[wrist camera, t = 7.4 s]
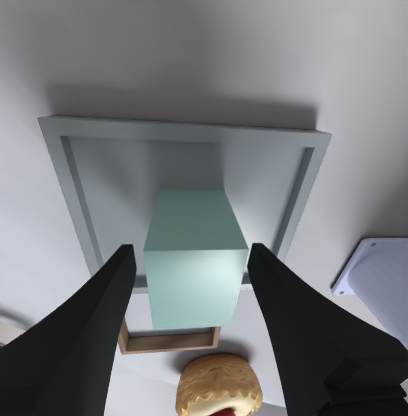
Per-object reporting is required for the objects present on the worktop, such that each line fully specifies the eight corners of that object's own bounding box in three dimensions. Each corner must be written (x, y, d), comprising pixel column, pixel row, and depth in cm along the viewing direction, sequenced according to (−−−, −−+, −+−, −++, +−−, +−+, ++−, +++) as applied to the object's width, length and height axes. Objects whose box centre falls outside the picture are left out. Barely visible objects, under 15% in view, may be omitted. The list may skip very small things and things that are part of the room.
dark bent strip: (222, 292, 21) (225, 305, 19) (215, 334, 25) (216, 348, 24) (112, 296, 19) (107, 310, 18) (125, 340, 24) (121, 354, 22)
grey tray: (316, 129, 13) (332, 134, 11) (267, 275, 20) (273, 288, 18) (55, 114, 11) (37, 117, 10) (104, 279, 18) (97, 295, 17)
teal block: (224, 190, 14) (249, 249, 8) (216, 253, 17) (231, 325, 11) (158, 189, 13) (142, 251, 8) (163, 254, 16) (153, 330, 11)
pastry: (263, 345, 29) (294, 434, 21) (237, 380, 34) (255, 462, 27) (184, 346, 26) (188, 449, 19) (170, 384, 32) (168, 476, 24)
